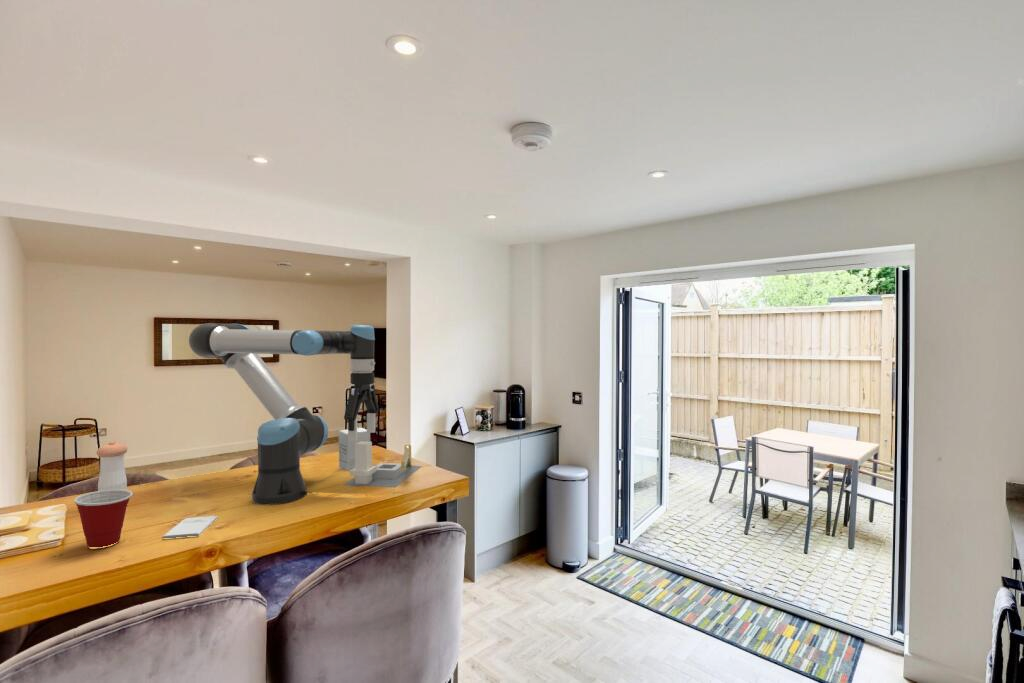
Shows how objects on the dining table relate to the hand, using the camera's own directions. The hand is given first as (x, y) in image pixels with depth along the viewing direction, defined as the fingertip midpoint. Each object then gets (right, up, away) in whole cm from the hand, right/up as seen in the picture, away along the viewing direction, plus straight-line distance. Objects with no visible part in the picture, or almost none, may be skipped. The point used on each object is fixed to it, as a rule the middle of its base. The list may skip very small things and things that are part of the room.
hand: (362, 436), depth 162 cm
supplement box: (-9, -17, +21) cm, 28 cm away
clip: (+13, -15, +8) cm, 21 cm away
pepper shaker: (-68, -18, -17) cm, 72 cm away
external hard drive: (-33, -18, -35) cm, 52 cm away
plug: (+1, -15, 0) cm, 15 cm away
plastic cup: (-48, -18, -44) cm, 68 cm away
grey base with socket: (+5, -17, +8) cm, 19 cm away
